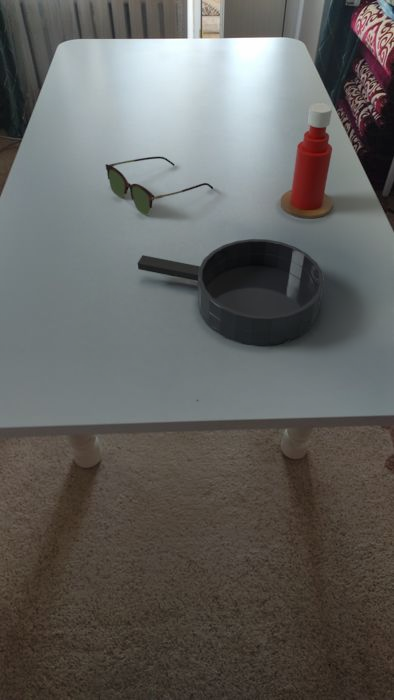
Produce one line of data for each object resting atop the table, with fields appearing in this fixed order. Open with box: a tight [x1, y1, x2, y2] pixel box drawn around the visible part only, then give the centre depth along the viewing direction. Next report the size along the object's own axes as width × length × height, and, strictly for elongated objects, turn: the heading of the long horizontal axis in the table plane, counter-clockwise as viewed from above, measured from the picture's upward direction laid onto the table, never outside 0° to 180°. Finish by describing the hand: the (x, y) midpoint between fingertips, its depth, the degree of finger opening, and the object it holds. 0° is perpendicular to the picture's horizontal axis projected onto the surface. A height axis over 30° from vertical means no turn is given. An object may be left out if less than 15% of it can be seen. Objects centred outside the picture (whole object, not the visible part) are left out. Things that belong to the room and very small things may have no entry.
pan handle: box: [137, 254, 201, 282], centre depth 80 cm, size 9×2×1 cm, turn 72°
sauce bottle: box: [290, 102, 333, 210], centre depth 90 cm, size 6×6×16 cm
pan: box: [197, 238, 325, 346], centre depth 77 cm, size 17×17×5 cm
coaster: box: [279, 189, 333, 219], centre depth 97 cm, size 9×9×1 cm
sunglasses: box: [105, 156, 214, 216], centre depth 99 cm, size 14×15×5 cm
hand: (311, 1), depth 64 cm, fingers open, 8 cm apart
